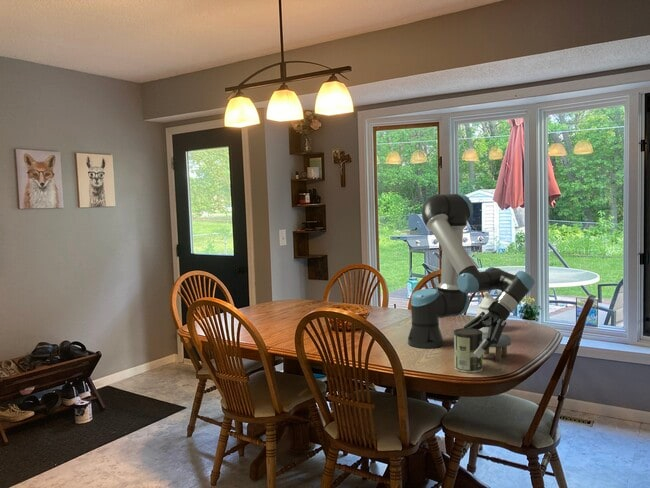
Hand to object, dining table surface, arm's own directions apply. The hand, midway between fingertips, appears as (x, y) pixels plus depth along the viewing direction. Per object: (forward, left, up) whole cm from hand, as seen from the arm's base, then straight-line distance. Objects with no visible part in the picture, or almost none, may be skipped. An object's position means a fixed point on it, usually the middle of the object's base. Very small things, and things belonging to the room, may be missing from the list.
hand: (466, 350), depth 195 cm
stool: (+3, +19, -7) cm, 21 cm away
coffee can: (0, +1, -7) cm, 7 cm away
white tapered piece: (-13, +62, -7) cm, 64 cm away
